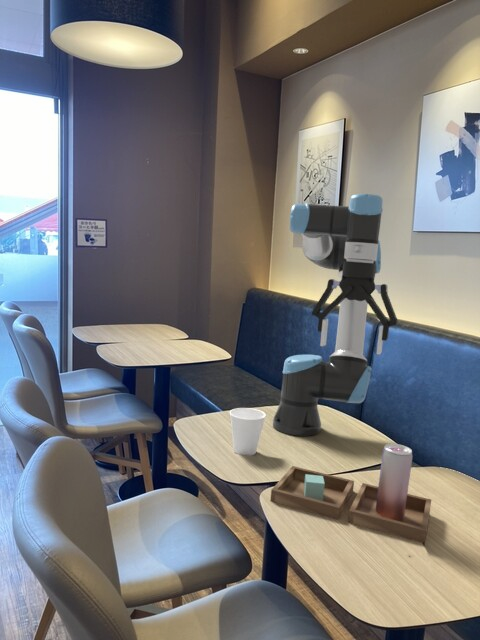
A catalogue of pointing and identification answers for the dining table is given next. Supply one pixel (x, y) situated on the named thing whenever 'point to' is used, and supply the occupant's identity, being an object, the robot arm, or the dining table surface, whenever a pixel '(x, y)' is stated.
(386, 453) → the beverage can
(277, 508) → the dining table surface
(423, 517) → the tray
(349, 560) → the dining table surface
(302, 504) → the tray
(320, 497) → the teal block
